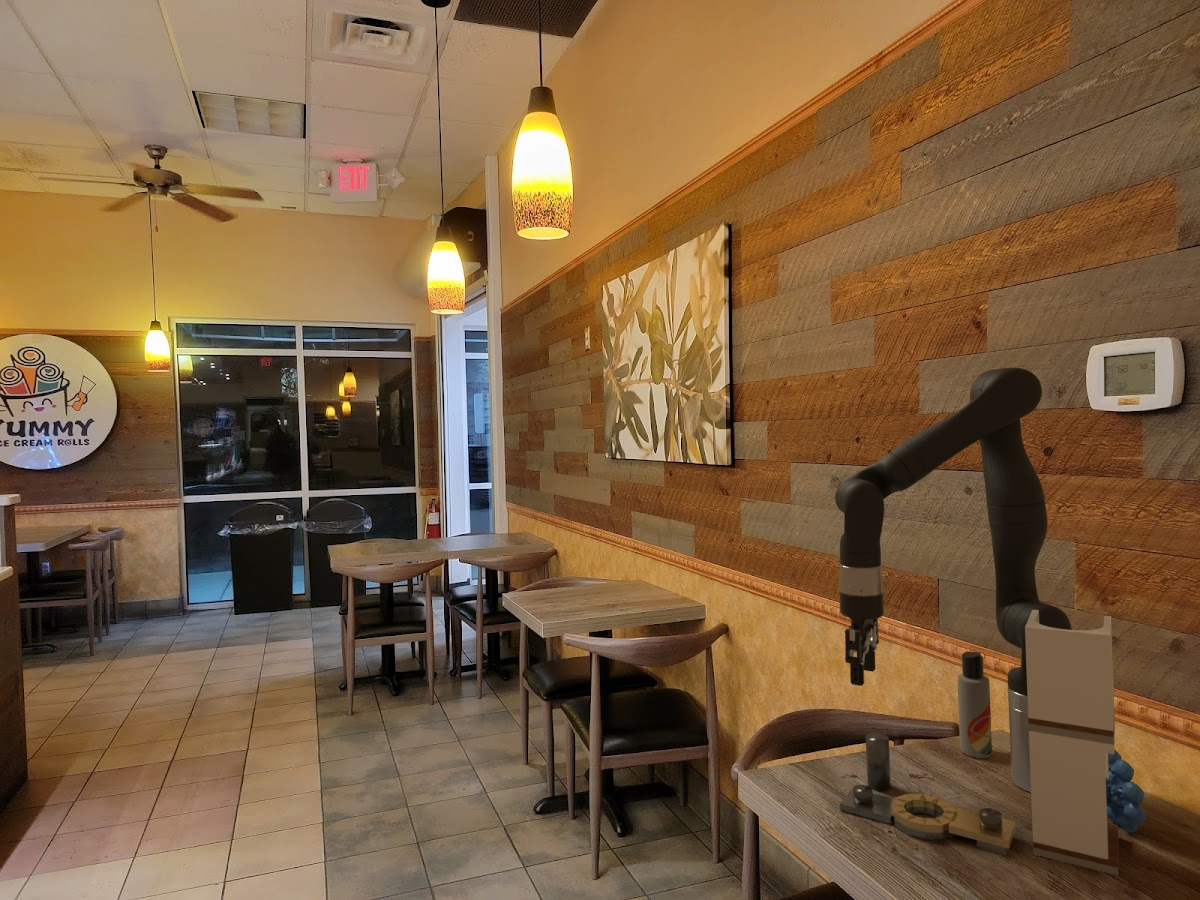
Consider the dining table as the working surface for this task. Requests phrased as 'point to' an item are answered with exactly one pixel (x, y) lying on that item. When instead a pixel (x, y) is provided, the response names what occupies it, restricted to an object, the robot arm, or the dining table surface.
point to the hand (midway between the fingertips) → (863, 677)
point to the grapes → (1123, 795)
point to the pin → (878, 761)
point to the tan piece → (949, 821)
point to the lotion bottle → (974, 707)
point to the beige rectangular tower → (1071, 743)
